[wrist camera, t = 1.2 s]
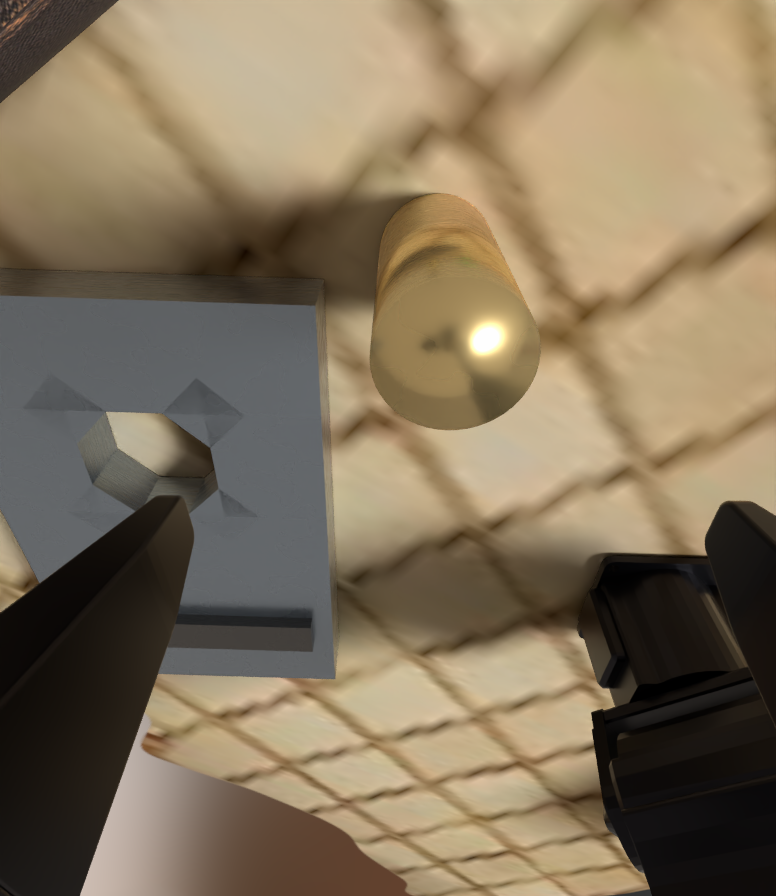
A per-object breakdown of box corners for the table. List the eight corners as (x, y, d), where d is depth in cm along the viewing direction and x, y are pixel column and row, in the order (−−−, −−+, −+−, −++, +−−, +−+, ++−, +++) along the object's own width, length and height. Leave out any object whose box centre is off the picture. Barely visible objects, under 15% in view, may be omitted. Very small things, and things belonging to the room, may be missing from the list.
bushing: (501, 195, 18) (556, 279, 12) (485, 310, 21) (524, 432, 14) (380, 191, 18) (370, 273, 12) (378, 306, 21) (368, 427, 14)
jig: (323, 279, 20) (313, 312, 18) (339, 640, 33) (334, 689, 31) (-64, 266, 20) (-129, 298, 17) (105, 633, 33) (81, 681, 31)
